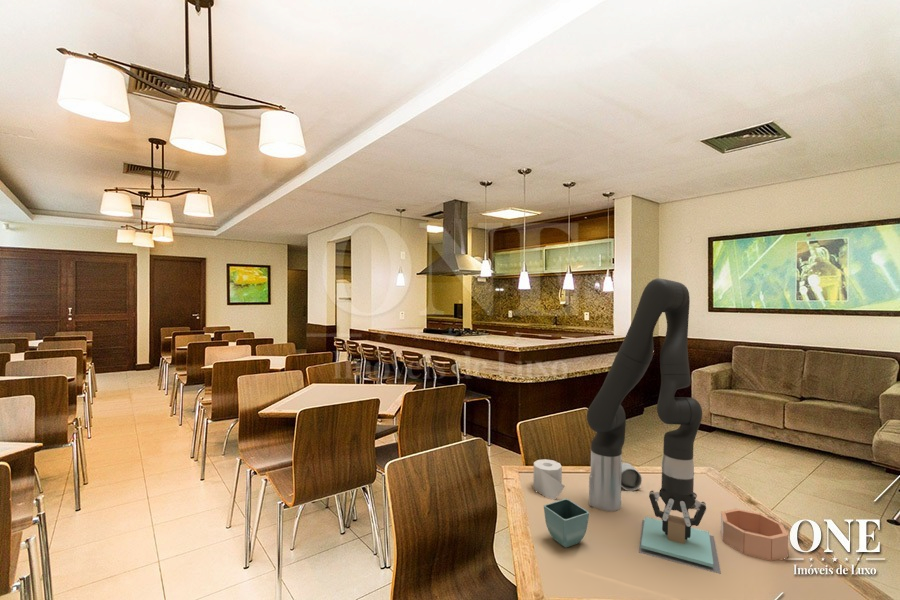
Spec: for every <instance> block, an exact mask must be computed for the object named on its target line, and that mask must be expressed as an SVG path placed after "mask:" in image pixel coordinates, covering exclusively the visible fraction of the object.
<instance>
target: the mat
mask: <svg viewBox="0 0 900 600" xmlns="http://www.w3.org/2000/svg"><path fill="white" fill-rule="evenodd" d="M644 521H645V519H642V520H641V529H640V538H639V539H640V540H639V545H638V546H639V548H638V553H639V554H643V555H646V556H650V557H655V558H657V559H662V560H667V561H671V562H674V563H677V564H681V565H685V566H687V567H688V566H689V567H693V568H696V569H700V570H703V571H704V570H705V571H707V572H708V571H709V572H712V573H716V574H719V575H720V574H722V571H721V567H720V560H719V556H718V551H717V544H716V541H715V536H714V535H711V534H709V536H710V543H711V550H712V557H713V567H710V566H706V565H702V564H698V563H695V562H691V561H687V560H684V559H680V558H676V557H673V556H669V555H665V554H662V553H658V552H654V551H650V550H647V549H643V548H641V543H642V536H643V528H644Z"/></svg>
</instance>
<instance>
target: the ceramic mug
mask: <svg viewBox="0 0 900 600" xmlns="http://www.w3.org/2000/svg"><path fill="white" fill-rule="evenodd" d="M642 478H643V477H642V475H641V473H640V472H639V471H638V470H637V469H636V468H635V467H634V466H633V465H632V464H630V463H628V462H622V472H621V489H623V490H625V491H627V492H633V491H637V490H639V488H640V486H641V485H642V481H643V479H642Z"/></svg>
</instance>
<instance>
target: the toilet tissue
mask: <svg viewBox="0 0 900 600" xmlns="http://www.w3.org/2000/svg"><path fill="white" fill-rule="evenodd" d="M562 470H563V466H562V465H561V462H558V461H556V460H552V459H546V458H545V459H537V460H535V461H534V462H533V482H532V485H533V486H534V487H533V486H532V487H533V490H535V491H534V492H536V491H537V492H539V493H540V494H539V493H538V494H539V495H541V494H542V495H541V496H543V497H544V496H545V498H546V497H547V498H546V499H549V498H550V500H552V499H553V500H552V501H555V500H556V499H557V498H558V497H559V495H560V494H561V493H562V491H563V490H564V489H565V487H566V486H565V485H564V484H563V481H562V480H563V478H562V475H563V474H562V472H563V471H562ZM537 492H536V493H537Z"/></svg>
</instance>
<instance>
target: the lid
mask: <svg viewBox="0 0 900 600" xmlns="http://www.w3.org/2000/svg"><path fill="white" fill-rule="evenodd" d="M644 520H645V521H644V528H643V536H642V543H641V548H643V549H647V550H650V551H654V552H658V553H662V554H665V555H669V556H673V557H676V558H680V559H684V560H687V561H691V562H695V563H698V564H702V565H706V566H710V567H713V557H712V550H711V543H710V536H709V535H710V532H709V531H707V530H703V529H699V528H694V527H691V537H690V538H687V540H686V539H685V520H684V517H681V516H677V515H674V514H669V516H668V535H666V534H665V532H663V530H662V519H656V518H653V517H648V516H645V517H644Z"/></svg>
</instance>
